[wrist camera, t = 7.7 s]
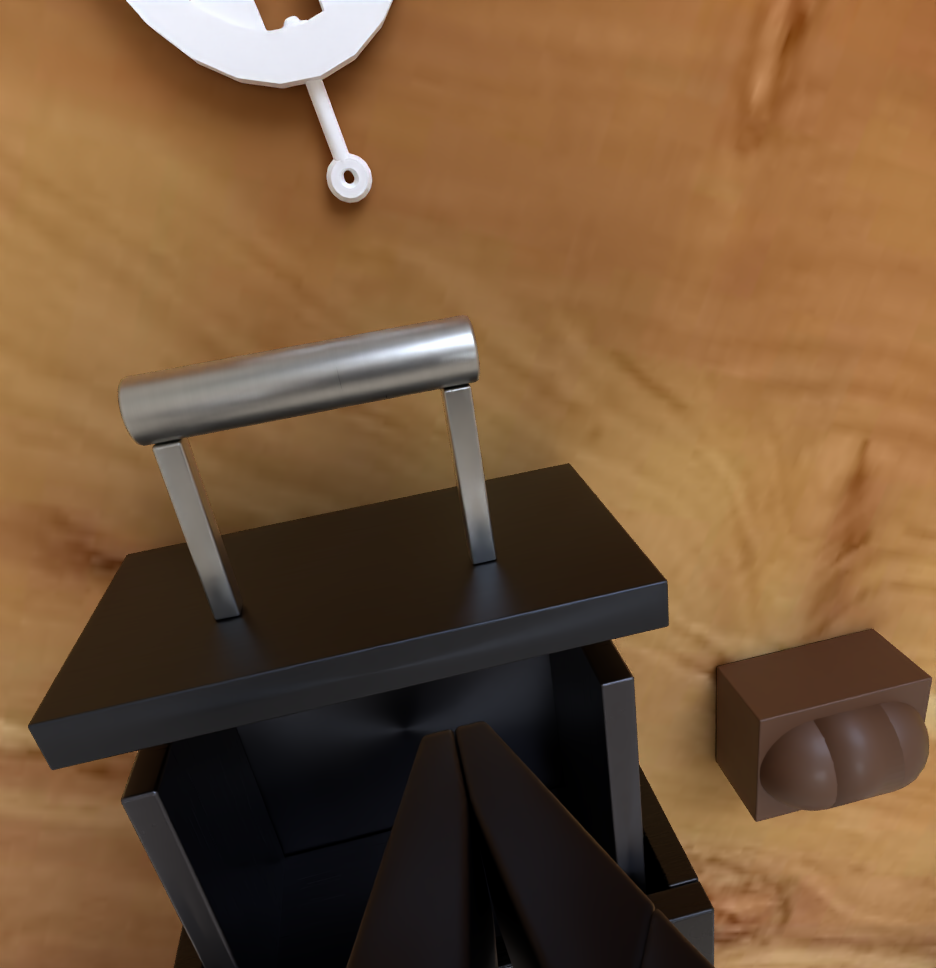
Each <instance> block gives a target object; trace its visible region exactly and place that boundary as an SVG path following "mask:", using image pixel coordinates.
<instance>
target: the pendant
mask: <svg viewBox="0 0 936 968" xmlns="http://www.w3.org/2000/svg"><path fill="white" fill-rule="evenodd" d="M126 1H127V2H128V3H129V4H130V5H131V6H132V7H133V9H134V10H135V11H136V12H137V13H138V14H139V16H140V17H141V18H142V19H143V20H144V21H145V22H146V24H148V25H149V26H150V27H151V28H152V29H154V30H155V31H156V32H157V33H159V34H160V35H161V36H162V37H164V38H165V39H166V40H168V41H169V42H170V43H172V44H173V45H174V46H175V47H177V48H178V49H179V50H181V51H182V52H183V53H185V54H186V55H187V56H189V57H190V58H191V59H192V60H194V61H195V62H196V63H198V64H200V65H202V66H204V67H207V68H209V69H211V70H213V71H216V72H218V73H220V74H222V75H225V76H227V77H229V78H231V79H234V80H236V81H238V82H240V83H246V84H254V85H261V86H269V87H276V88H287V87H292V86H297V85H302V84H306V87H307V89H308V92H309V95H310V97H311V100H312V103H313V106H314V108H315V111H316V114H317V116H318V119H319V122H320V124H321V127H322V130H323V132H324V135H325V138H326V140H327V143H328V146H329V148H330V151H331V154H332V156H333V160H332V162H331V163H330V165H329V166H328V170H327V176H326V178H327V183H328V187H329V188H330V190H331V192H332V193H333V195H334V196H336V197H337V198H338V199H340V200H341V201H345V202H348V203H352V202H358V201H360V200H361V199H363V198H365V197H366V195H367V194H368V192H369V191H370V189H371V184H372V175H371V170H370V169H369V167H368V165H367V163H366V162H365V161H364V160H363V159H361V158H360V157H359V156H356V155H353V154H350V153H349V152H348V149H347V147H346V144H345V141H344V138H343V136H342V133H341V130H340V127H339V125H338V122H337V119H336V116H335V114H334V111H333V108H332V106H331V103H330V100H329V97H328V95H327V92H326V89H325V86H324V84H323V81H322V80H323V79H325V78H326V77H328V76H330V75H331V74H333V73H335V72H336V71H338V70H339V69H341V68H343V67H344V66H346V65H347V64H349V63H351V62H352V61H354V60H355V59H356V58H357V57H358V56H359V54H360V53H361V52H362V51H363V49H364V48H365V47H366V46H367V45H368V43H369V42H370V41H371V40H372V38H373V37H374V36H375V35H376V34H377V32H378V31H379V30H380V29H381V27H382V25H383V23H384V21H385V18H386V16H387V13H388V11H389V9H390V6H391V4H392V2H393V0H319V3H320V6H321V8H322V12H320V13H319V14H317V15H316V16H314V17H312V18H311V19H309V20H299V18H297V17H296V16H292V17H289V18H287V19H285V22H284V27H282V28H281V29H277V30H272V31H267V30H266V28H265V26H264V23H263V21H262V19H261V16H260V14H259V11H258V9H257V6H256V4H255V2H254V0H191V1H190V0H126ZM347 170H348V171H351V172H352V174H353V176H354V178H355V179H354V182H353V183H351V184H349V183H347V182H345V179H344V172H345V171H347Z"/></svg>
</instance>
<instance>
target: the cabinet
mask: <svg viewBox="0 0 936 968" xmlns="http://www.w3.org/2000/svg"><path fill="white" fill-rule="evenodd" d="M639 775H640V792H641V810H642V827H643V844H644V861H645V879H646V896H647V897H648V898H649V899H650V900H651V901H652V902H653V904H654V906H655V910H656V909H659V910H660V911H661V912H662V913H663V914H664V915H665V916H666V917H667V918H668V919H669V920H670V921H671V923H672V924H673V925H674V926H675V927H676V928H677V929H678V930H679V931H680V932H681V933H682V934H683V936H684V937H685V938H686V939H687V940H688V941H689V942H690V943H691V944H692V945H693V946H694V947H695V948H696V949H697V950H698V951H699V952H700V953H701V954H702V955H703V956H704V957H705V958H706V959H707V960H708V961H709V962H710V963H711V964H712V965H713V966H714V908H713V906H712V904H711V902H710V900H709V898H708V896H707V895H706V893H705V891H704V889H703V887H702V885H701V883H700V882H699V881H698V877H697V875H696V873H695V871H694V869H693V867H692V865H691V863H690V862H689V860H688V858H687V856H686V854H685V852H684V850H683V848H682V846H681V844H680V842H679V840H678V838H677V837H676V835H675V833H674V831H673V829H672V827H671V825H670V823H669V821H668V819H667V817H666V815H665V813H664V811H663V810H662V808H661V806H660V804H659V802H658V800H657V798H656V796H655V794H654V792H653V790H652V788H651V786H650V784H649V783H648V781H647V779H646V777H645V775H644V773H643V771H642V769H641V767H640V765H639ZM495 939H496V949H497V960H498V968H513V966H512V964H511V961H510V958H509V955H508V952H507V949H506V946H505V943H504V940H503V937H502V934H501V935H498V936H495ZM174 968H204V966H203V964H202V962H201V960H200V958H199V956H198V954H197V952H196V950H195V948H194V946H193V944H192V942H191V940H190V938H189V936H188V934H187V932H186V930H185V928H184V926H182V931H181V936H180V940H179V945H178V950H177V955H176V959H175V964H174Z"/></svg>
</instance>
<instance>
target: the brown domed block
mask: <svg viewBox="0 0 936 968" xmlns="http://www.w3.org/2000/svg"><path fill="white" fill-rule="evenodd" d="M931 682H932V677H931V676H929V675H928V674H927V673H926V672H925V671H923V670H922V669H921V668H920V667H918V666H917V665H916V664H915V663H914V662H912V661H911V660H910V659H909V658H908V657H906V656H905V655H904V654H903V653H902V652H900V651H899V650H898V649H897V648H896V647H894V646H893V645H892V644H891V643H890V642H888V641H887V640H886V639H885V638H883V637H882V636H881V635H880V634H879V633H877V632H876V631H875V630H874V629H870V630H866V631H862V632H858V633H853V634H849V635H845V636H841V637H837V638H833V639H829V640H824V641H820V642H816V643H812V644H808V645H804V646H800V647H795V648H791V649H787V650H783V651H779V652H775V653H771V654H766V655H762V656H758V657H754V658H750V659H746V660H742V661H737V662H733V663H729V664H725V665H721V666H718V667H717V740H716V762H717V763H718V765H719V766H720V768H721V769H722V771H723V773H724V774H725V776H726V777H727V779H728V780H729V782H730V783H731V785H732V786H733V788H734V789H735V791H736V792H737V794H738V795H739V797H740V798H741V800H742V801H743V803H744V805H745V806H746V808H747V809H748V811H749V812H750V814H751V815H752V817H753V818H754V820H755V821H756V822H757V821H761V820H765V819H769V818H773V817H776V816H780V815H784V814H788V813H791V812H795V811H799V810H809V811H818V810H824V809H830V808H833V807H837V806H841V805H845V804H848V803H852V802H856V801H860V800H863V799H867V798H871V797H875V796H878V795H882V794H886V793H890V792H894V791H896V790H899V789H901V788H903V787H905V786H907V785H909V784H910V783H911V782H913V781H914V780H915V779H916V778H917V777H918V775H919V774H920V773H921V771H922V770H923V768H924V767H925V764H926V761H927V758H928V755H929V737H928V732H927V728H926V726H925V717H926V711H927V705H928V700H929V694H930V688H931Z"/></svg>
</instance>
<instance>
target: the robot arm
mask: <svg viewBox="0 0 936 968" xmlns="http://www.w3.org/2000/svg"><path fill="white" fill-rule="evenodd" d="M455 736H456V737H455ZM456 741H457V742H456ZM457 745H458V746H457ZM458 750H459V751H458ZM477 838H478V839H477ZM479 847H480V848H479ZM480 852H481V853H480ZM481 856H482V857H481ZM482 861H483V862H482ZM483 865H484V867H483ZM484 870H485V871H484ZM485 874H486V876H485ZM486 879H487V881H486ZM487 883H488V885H487ZM488 888H489V890H488ZM489 892H490V896H491V900H492V904H493V908H494V912H495V915H496V918H497V921H498V925H499V928H500V931H501V934H502V937H503V940H504V943H505V946H506V949H507V952H508V955H509V958H510V961H511V964H512V966H513V968H715V967H714V966H713V965H712V964H711V963H710V962H709V961H708V960H707V959H706V958H705V957H704V956H703V955H702V954H701V953H700V952H699V951H698V950H697V949H696V948H695V947H694V946H693V945H692V944H691V943H690V942H689V941H688V940H687V939H686V938H685V937H684V936H683V934H682V933H681V932H680V931H679V930H678V929H677V928H676V927H675V926H674V925H673V924H672V923H671V921H670V920H669V919H668V918H667V917H666V916H665V915H664V914H663V913H662V912H661V911H660V910H659V909H656V910H655V906H654V904H653V902H652V901H651V900H650V899H649V898H648V897H647V896H646V895H645V894H644V893H643V892H642V890H641V889H640V888H639V887H638V886H637V885H636V884H635V883H634V882H633V881H632V880H631V879H630V877H629V876H628V875H627V874H626V873H625V872H624V871H623V870H622V869H621V868H620V867H619V865H618V864H617V863H616V862H615V861H614V860H613V859H612V858H611V857H610V856H609V855H608V854H607V852H606V851H605V850H604V849H603V848H602V847H601V846H600V845H599V844H598V843H597V842H596V841H595V839H594V838H593V837H592V836H591V835H590V834H589V833H588V832H587V831H586V830H585V829H584V828H583V826H582V825H581V824H580V823H579V822H578V821H577V820H576V819H575V818H574V817H573V816H572V814H571V813H570V812H569V811H568V810H567V809H566V808H565V807H564V806H563V805H562V804H561V803H560V801H559V800H558V799H557V798H556V797H555V796H554V795H553V794H552V793H551V792H550V791H549V790H548V788H547V787H546V786H545V785H544V784H543V783H542V782H541V781H540V780H539V779H538V778H537V777H536V775H535V774H534V773H533V772H532V771H531V770H530V769H529V768H528V767H527V766H526V765H525V763H524V762H523V761H522V760H521V759H520V758H519V757H518V756H517V755H516V754H515V753H514V752H513V750H512V749H511V748H510V747H509V746H508V745H507V744H506V743H505V742H504V741H503V740H502V739H501V737H500V736H499V735H498V734H497V733H496V732H495V731H494V730H493V729H492V728H491V727H490V726H489V725H488V724H487V723H486V722H484V721H479V722H475V723H471V724H467V725H463V726H459V727H457V728H456V730H455V734H454V732H453V731H452V730H450V729H447V730H443V731H439V732H435V733H431V734H427V735H425V736H424V737H423V738H422V739H421V742H420V745H419V748H418V751H417V754H416V757H415V760H414V763H413V766H412V769H411V772H410V775H409V778H408V781H407V784H406V787H405V790H404V793H403V796H402V799H401V802H400V805H399V809H398V812H397V815H396V818H395V821H394V824H393V827H392V830H391V833H390V836H389V839H388V842H387V845H386V848H385V851H384V854H383V857H382V860H381V863H380V866H379V869H378V872H377V876H376V879H375V882H374V885H373V888H372V891H371V894H370V897H369V900H368V903H367V906H366V909H365V912H364V915H363V918H362V921H361V924H360V927H359V930H358V933H357V936H356V940H355V943H354V946H353V949H352V952H351V955H350V958H349V961H348V964H347V967H346V968H498V960H497V949H496V939H495V929H494V921H493V913H492V907H491V901H490V896H489Z"/></svg>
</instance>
